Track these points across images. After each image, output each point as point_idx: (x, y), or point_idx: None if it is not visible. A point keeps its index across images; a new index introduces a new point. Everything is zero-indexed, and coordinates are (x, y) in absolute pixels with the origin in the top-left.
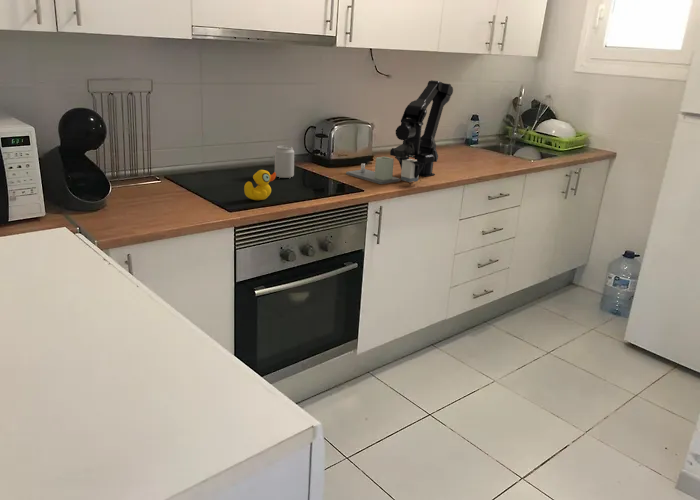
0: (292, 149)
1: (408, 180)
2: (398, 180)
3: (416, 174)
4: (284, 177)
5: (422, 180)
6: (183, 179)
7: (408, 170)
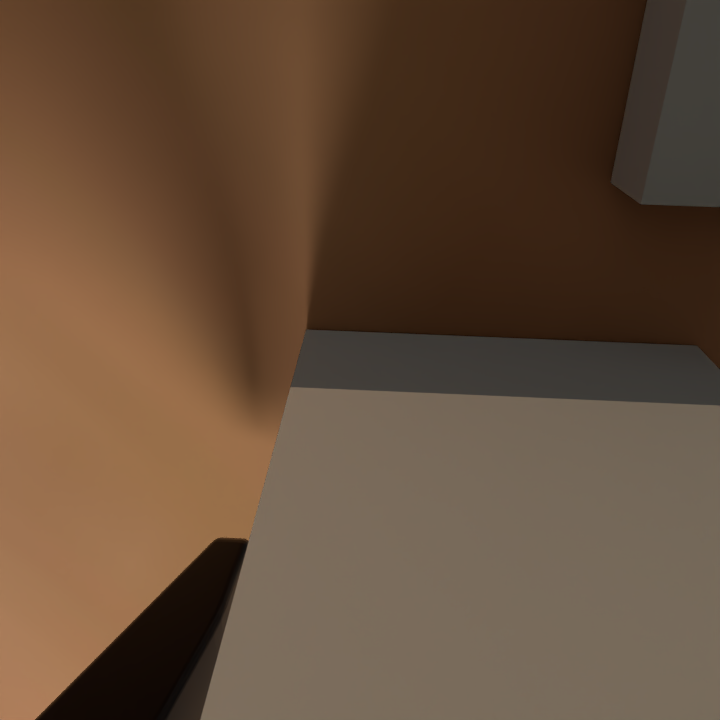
0: None
1: (366, 353)
2: (637, 100)
3: (135, 639)
4: None
5: None
6: None
7: (411, 615)
